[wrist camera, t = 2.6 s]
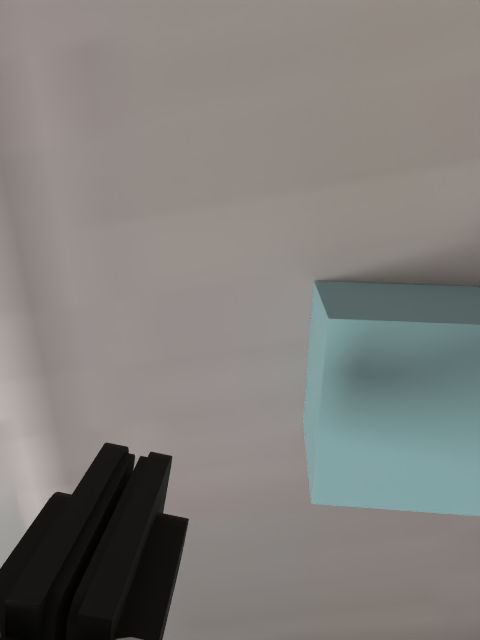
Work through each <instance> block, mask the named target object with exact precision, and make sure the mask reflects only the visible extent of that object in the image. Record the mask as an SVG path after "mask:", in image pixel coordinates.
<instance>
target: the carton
mask: <svg viewBox="0 0 480 640" xmlns="http://www.w3.org/2000/svg"><path fill="white" fill-rule="evenodd" d="M303 433H304V442H305V451H306V460H307V469H308V478H309V487H310V496H311V504H322V505H336V506H349V507H363V508H376V509H390V510H403V511H417V512H430V513H444V514H457V515H471V516H480V286H453V285H424V284H394V283H364V282H335V281H314V288H313V301H312V314H311V326H310V339H309V352H308V365H307V378H306V391H305V404H304V417H303Z"/></svg>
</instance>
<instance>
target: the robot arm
mask: <svg viewBox="0 0 480 640" xmlns="http://www.w3.org/2000/svg"><path fill="white" fill-rule="evenodd" d="M128 452H129V449H128V447H126V446H121V445H116V444H111V443H105V444H104V445H103V447H102V448H101V450H100V451H99V453H98V455H97V456H96V458H95V459H94V461H93V462H92V464H91V466H90V467H89V469H88V470H87V472H86V473H85V475H84V476H83V478H82V480H81V481H80V483H79V484H78V486H77V487H76V489H75V491H74V492H73V494H72V495H71V494H66V493H61V492H56V493H54V494H53V495H52V497H51V498H50V499H49V500H48V502H47V503H46V504H45V506H44V507H43V509H42V510H41V512H40V513H39V514H38V516H37V517H36V519H35V520H34V522H33V523H32V524H31V526H30V527H29V529H28V530H27V532H26V533H25V534H24V536H23V537H22V539H21V540H20V542H19V543H18V544H17V546H16V547H15V549H14V550H13V551H12V553H11V554H10V556H9V557H8V559H7V560H6V562H5V563H4V564H3V566H2V567H1V569H0V640H162V639H163V635H164V630H165V626H166V622H167V617H168V613H169V609H170V604H171V600H172V596H173V592H174V587H175V583H176V579H177V574H178V570H179V565H180V561H181V556H182V551H183V547H184V542H185V536H186V531H187V526H188V521H189V519H187V518H182V517H177V516H173V515H168V514H163V510H164V504H165V498H166V492H167V486H168V480H169V475H170V469H171V463H172V456H169V455H164V454H160V453H155V452H150V454H149V455H148V457H144V456H140V458H139V460H138V462H137V464H136V466H135V468H134V461H135V455H134V454H129V453H128ZM133 469H134V470H133Z"/></svg>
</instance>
